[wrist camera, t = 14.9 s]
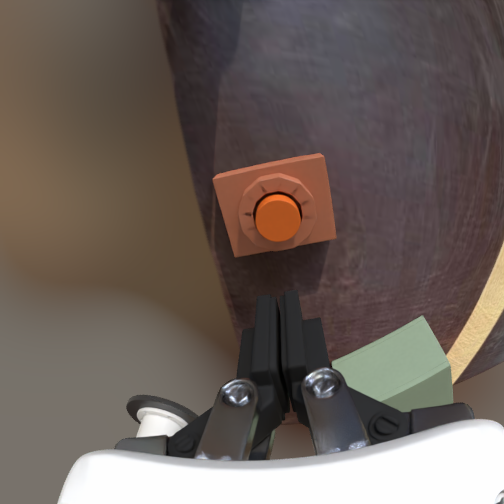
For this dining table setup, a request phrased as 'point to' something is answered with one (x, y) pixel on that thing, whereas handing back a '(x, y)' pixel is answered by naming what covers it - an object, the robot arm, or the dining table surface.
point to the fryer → (401, 369)
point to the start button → (277, 218)
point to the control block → (269, 183)
